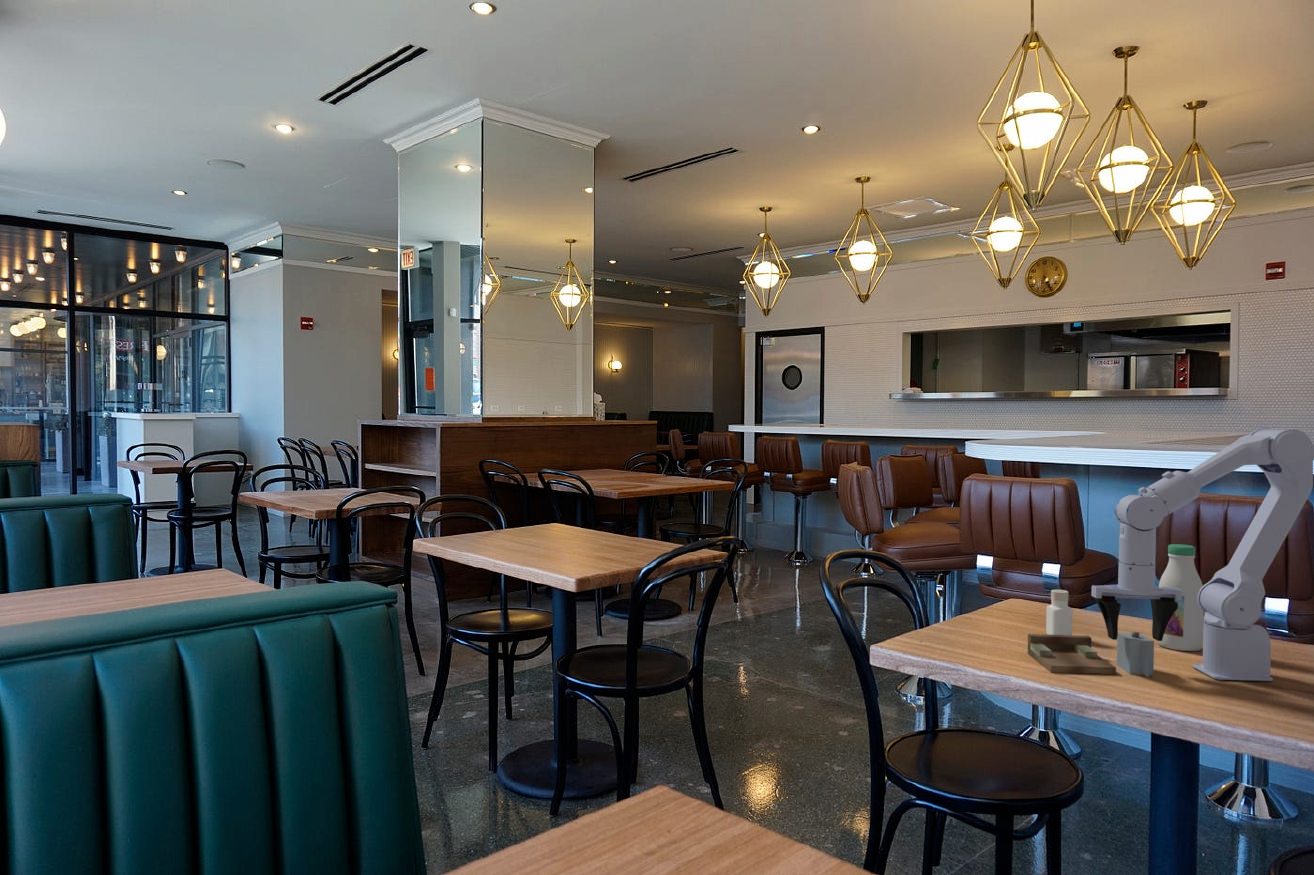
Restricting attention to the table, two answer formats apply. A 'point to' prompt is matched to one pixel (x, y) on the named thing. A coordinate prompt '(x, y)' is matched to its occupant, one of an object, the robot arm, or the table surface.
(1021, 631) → the table surface
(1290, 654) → the table surface
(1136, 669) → the grey knobbed box
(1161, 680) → the table surface
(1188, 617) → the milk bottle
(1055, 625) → the pepper shaker
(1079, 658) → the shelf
